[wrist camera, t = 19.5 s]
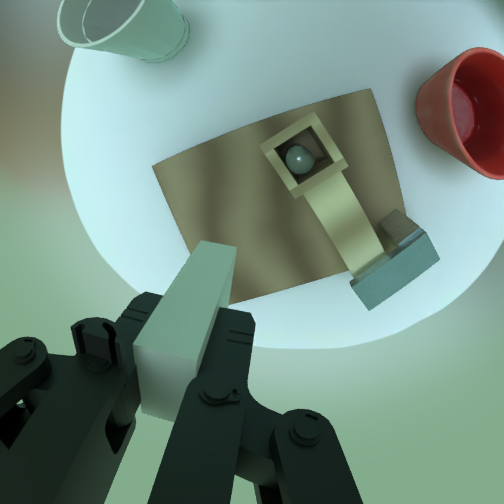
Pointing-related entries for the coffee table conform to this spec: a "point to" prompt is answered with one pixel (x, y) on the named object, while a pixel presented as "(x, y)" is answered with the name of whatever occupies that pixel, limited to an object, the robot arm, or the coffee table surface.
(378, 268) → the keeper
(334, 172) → the link
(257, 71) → the coffee table surface
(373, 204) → the board
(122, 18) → the cup
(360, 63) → the coffee table surface
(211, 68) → the coffee table surface
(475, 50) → the flower pot
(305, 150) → the pin
